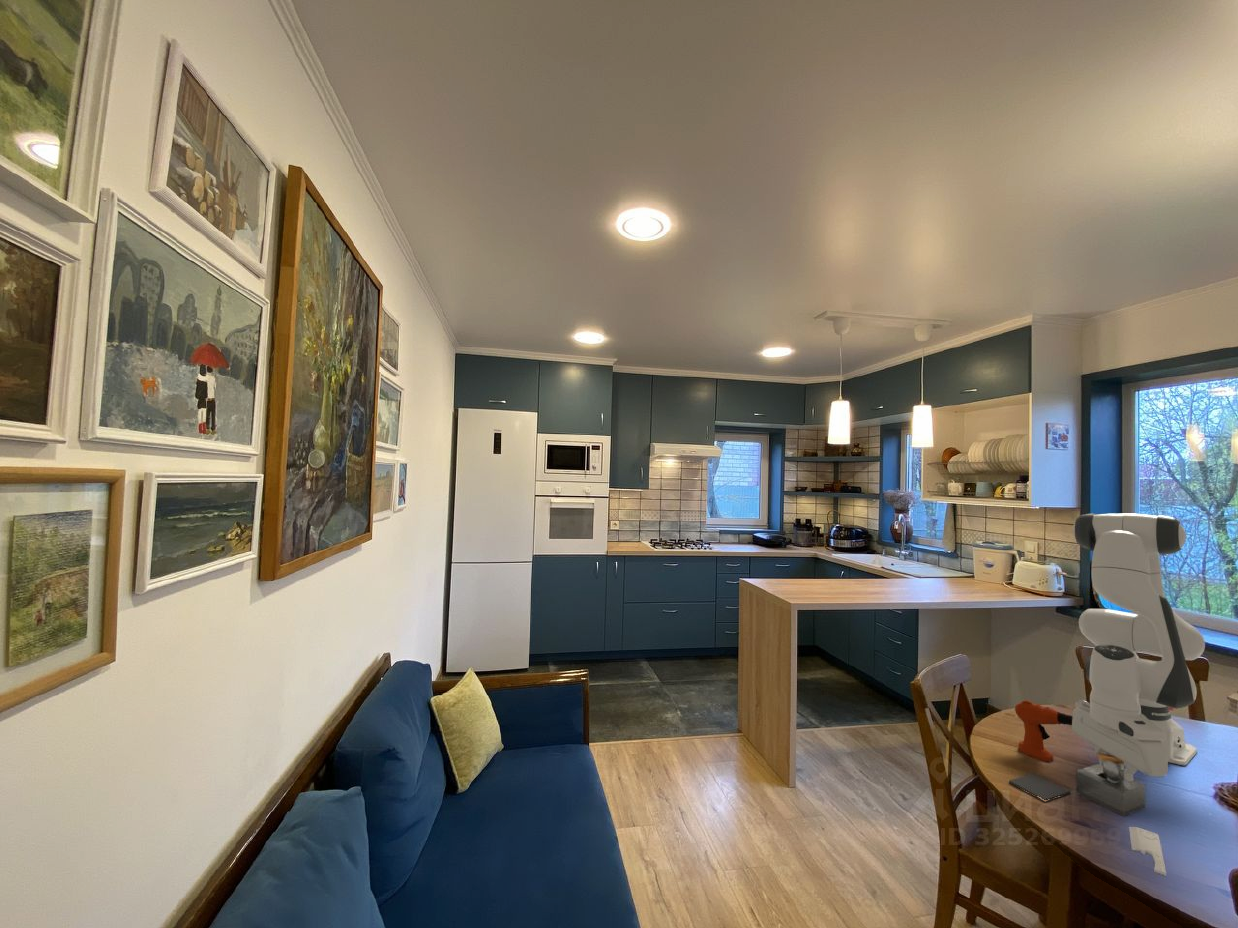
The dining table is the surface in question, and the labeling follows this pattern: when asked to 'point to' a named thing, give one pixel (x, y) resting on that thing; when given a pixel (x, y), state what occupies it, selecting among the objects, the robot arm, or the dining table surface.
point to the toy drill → (1038, 727)
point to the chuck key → (1111, 767)
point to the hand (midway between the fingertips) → (1116, 772)
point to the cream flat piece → (1148, 846)
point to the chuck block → (1110, 791)
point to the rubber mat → (1039, 786)
